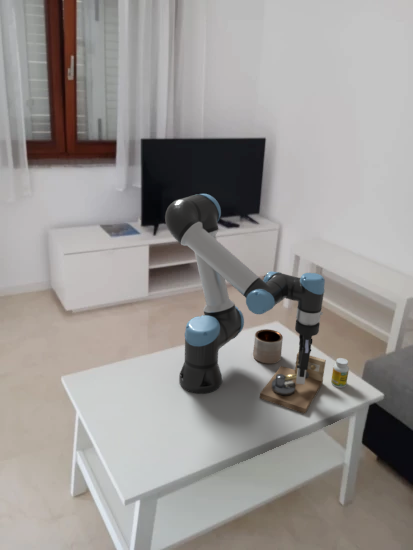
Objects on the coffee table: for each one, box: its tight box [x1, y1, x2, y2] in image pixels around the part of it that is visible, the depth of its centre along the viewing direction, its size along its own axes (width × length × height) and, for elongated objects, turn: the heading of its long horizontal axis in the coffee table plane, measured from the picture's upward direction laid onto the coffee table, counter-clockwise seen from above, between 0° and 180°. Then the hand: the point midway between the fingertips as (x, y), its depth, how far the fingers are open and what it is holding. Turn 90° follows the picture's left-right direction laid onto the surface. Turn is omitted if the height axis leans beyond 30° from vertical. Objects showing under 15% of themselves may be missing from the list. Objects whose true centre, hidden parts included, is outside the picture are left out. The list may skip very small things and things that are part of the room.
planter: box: [252, 328, 284, 365], centre depth 184 cm, size 11×11×10 cm
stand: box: [259, 351, 326, 414], centre depth 164 cm, size 16×20×10 cm
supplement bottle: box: [330, 357, 350, 389], centre depth 169 cm, size 5×5×10 cm
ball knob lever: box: [272, 371, 309, 396], centre depth 162 cm, size 13×8×6 cm, turn 109°
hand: (300, 382), depth 161 cm, fingers closed
